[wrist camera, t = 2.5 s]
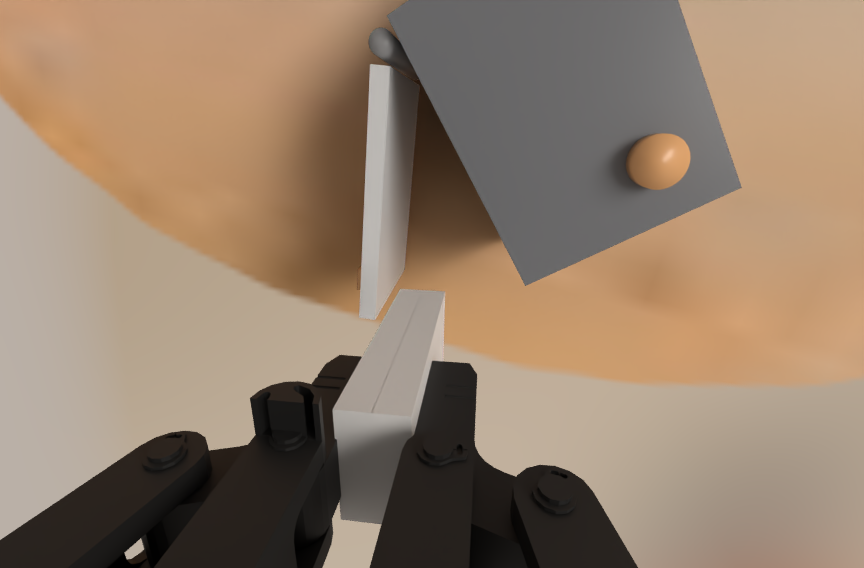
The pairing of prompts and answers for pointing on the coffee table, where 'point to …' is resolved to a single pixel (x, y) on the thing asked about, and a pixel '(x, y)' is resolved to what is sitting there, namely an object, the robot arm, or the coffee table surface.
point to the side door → (387, 171)
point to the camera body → (570, 117)
